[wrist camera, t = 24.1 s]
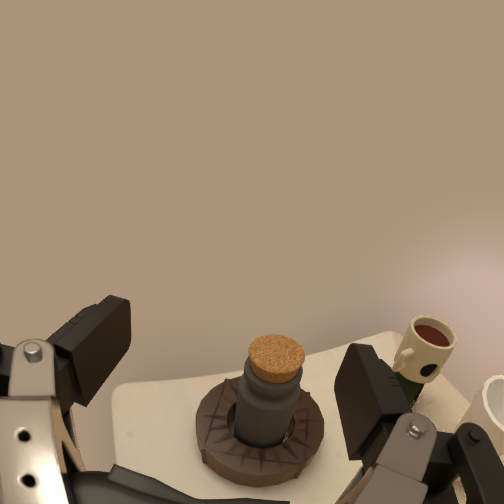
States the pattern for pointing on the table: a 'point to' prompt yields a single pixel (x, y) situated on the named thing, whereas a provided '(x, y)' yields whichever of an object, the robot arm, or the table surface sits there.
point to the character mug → (422, 354)
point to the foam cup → (488, 412)
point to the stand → (249, 458)
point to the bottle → (268, 391)
